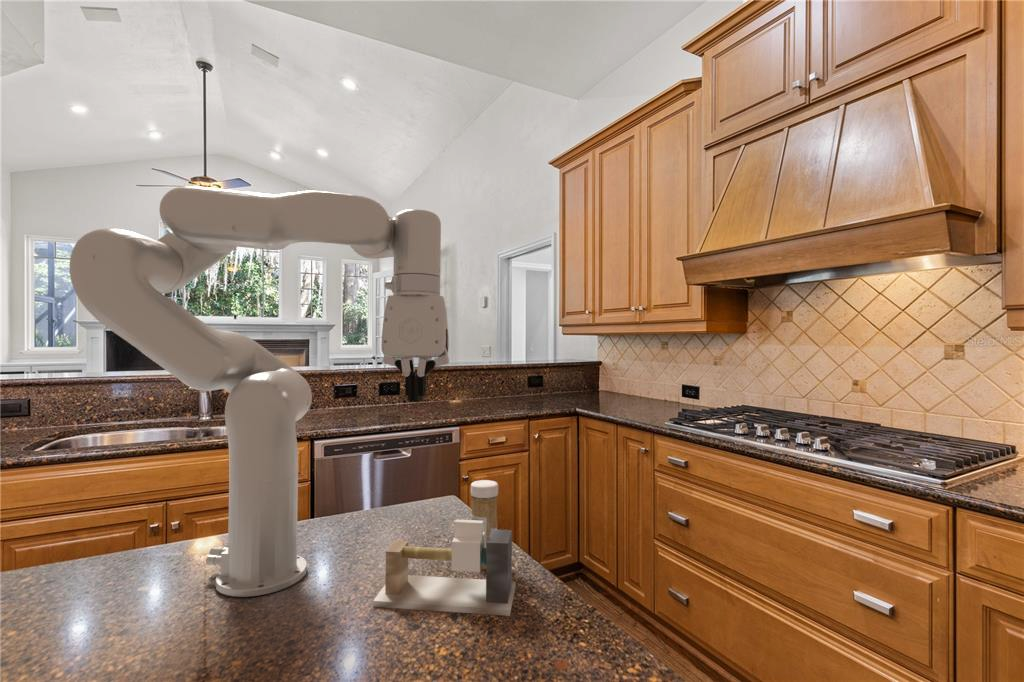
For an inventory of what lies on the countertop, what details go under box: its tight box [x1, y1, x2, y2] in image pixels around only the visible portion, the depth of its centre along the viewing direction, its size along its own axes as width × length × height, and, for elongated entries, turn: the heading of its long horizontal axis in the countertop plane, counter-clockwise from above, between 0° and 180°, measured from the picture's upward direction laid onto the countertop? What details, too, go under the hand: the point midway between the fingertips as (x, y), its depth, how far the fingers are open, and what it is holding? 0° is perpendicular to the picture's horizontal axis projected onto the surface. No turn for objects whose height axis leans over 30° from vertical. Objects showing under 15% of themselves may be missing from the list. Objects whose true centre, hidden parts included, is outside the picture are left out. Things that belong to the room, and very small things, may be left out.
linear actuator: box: [372, 528, 517, 617], centre depth 71 cm, size 19×8×9 cm, turn 84°
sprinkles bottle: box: [470, 479, 499, 570], centre depth 81 cm, size 5×5×13 cm
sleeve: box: [451, 518, 485, 573], centre depth 70 cm, size 4×4×6 cm
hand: (415, 400), depth 80 cm, fingers closed
